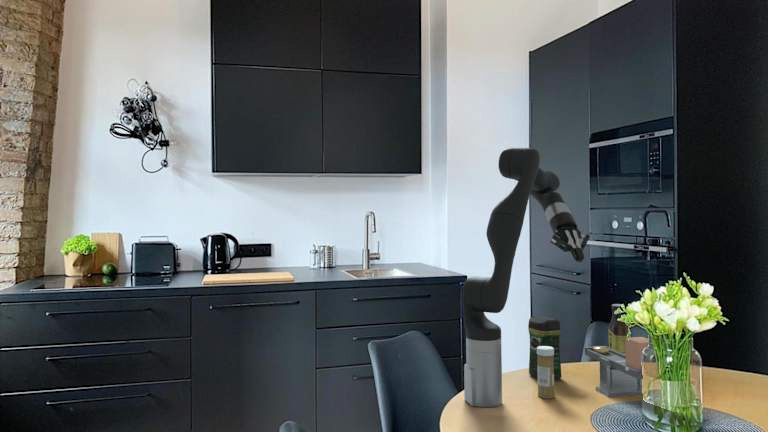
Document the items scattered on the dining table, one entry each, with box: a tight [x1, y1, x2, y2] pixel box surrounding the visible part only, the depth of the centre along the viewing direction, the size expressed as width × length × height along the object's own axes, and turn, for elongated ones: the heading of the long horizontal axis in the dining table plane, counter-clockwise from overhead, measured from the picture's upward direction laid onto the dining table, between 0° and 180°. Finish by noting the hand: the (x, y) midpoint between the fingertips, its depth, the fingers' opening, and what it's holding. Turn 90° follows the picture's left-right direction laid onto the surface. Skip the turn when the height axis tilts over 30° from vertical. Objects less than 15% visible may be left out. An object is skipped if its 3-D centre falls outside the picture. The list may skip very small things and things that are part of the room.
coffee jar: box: [527, 315, 562, 382], centre depth 172 cm, size 10×8×19 cm
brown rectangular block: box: [625, 336, 650, 370], centre depth 148 cm, size 5×6×8 cm
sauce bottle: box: [608, 303, 629, 355], centre depth 185 cm, size 6×6×20 cm
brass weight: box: [592, 345, 609, 355], centre depth 166 cm, size 4×4×2 cm
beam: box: [584, 345, 644, 380], centre depth 156 cm, size 8×26×2 cm, turn 10°
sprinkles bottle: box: [537, 346, 556, 400], centre depth 154 cm, size 5×5×14 cm
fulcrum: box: [595, 357, 643, 398], centre depth 156 cm, size 12×6×10 cm, turn 100°
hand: (580, 260), depth 170 cm, fingers closed
